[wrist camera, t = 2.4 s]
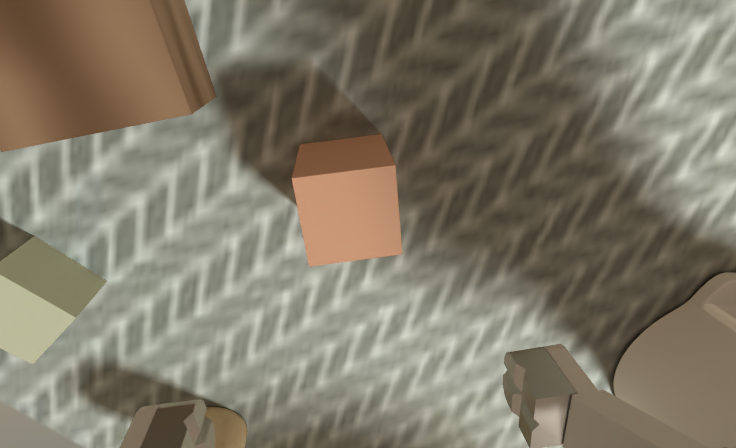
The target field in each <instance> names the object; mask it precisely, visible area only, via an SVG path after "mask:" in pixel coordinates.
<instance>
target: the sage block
mask: <svg viewBox="0 0 736 448" xmlns="http://www.w3.org/2000/svg"><path fill="white" fill-rule="evenodd" d="M106 282H107V281H106V280H105V279H103V278H102V277H100V276H98V275H97V274H95V273H93V272H92V271H90V270H89V269H87V268H85V267H84V266H82V265H81V264H79V263H77V262H76V261H74V260H73V259H71V258H69V257H68V256H66V255H65V254H63V253H61V252H60V251H58V250H56V249H55V248H53V247H52V246H50V245H48V244H47V243H45V242H44V241H42V240H40V239H39V238H37V237H36V236H34V237H32V238H31V239H30V240H28V241H27V242H26V243H24V244H23V245H22V246H20V247H19V248H17V249H16V250H15V251H13V252H12V253H11V254H9V255H8V256H7V257H5V258H4V259H2V260H1V261H0V348H1V349H3V350H5V351H7V352H9V353H11V354H13V355H15V356H17V357H19V358H21V359H23V360H25V361H27V362H29V363H31V364H33V363H34V362H35V361H36V360H37V359H38V358H39V357H40V356H41V355H42V354H43V353H44V351H45V350H46V349H47V348H48V347H49V346H50V345H51V344H52V343H53V342H54V341H55V340H56V339H57V338H58V336H59V335H60V334H61V333H62V332H63V331H64V330H65V329H66V328H67V327H68V326H69V325H70V324H71V323H72V322H73V320H74V319H75V318H76V317H77V316H78V315H79V314H80V312H81V311H82V310H83V309H84V308H85V307H86V305H87V304H88V303H89V302H90V301H91V300H92V298H93V297H94V296H95V295H96V294H97V292H98V291H99V290H100V289H101V288H102V287H103V285H104V284H105V283H106Z"/></svg>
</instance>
